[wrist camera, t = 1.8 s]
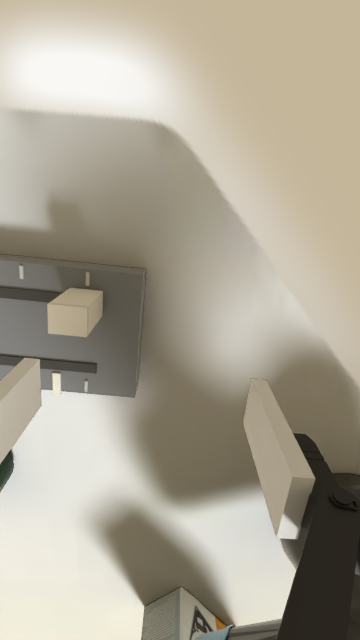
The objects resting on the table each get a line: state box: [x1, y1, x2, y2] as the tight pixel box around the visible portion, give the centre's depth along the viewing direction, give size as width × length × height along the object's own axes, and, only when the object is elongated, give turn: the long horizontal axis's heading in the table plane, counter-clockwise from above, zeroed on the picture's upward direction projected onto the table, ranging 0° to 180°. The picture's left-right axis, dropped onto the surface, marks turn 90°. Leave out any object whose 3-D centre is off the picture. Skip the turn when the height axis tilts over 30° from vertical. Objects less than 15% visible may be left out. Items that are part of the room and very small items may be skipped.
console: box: [0, 254, 146, 398], centre depth 33 cm, size 28×14×3 cm, turn 84°
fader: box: [47, 288, 103, 337], centre depth 28 cm, size 3×2×6 cm
